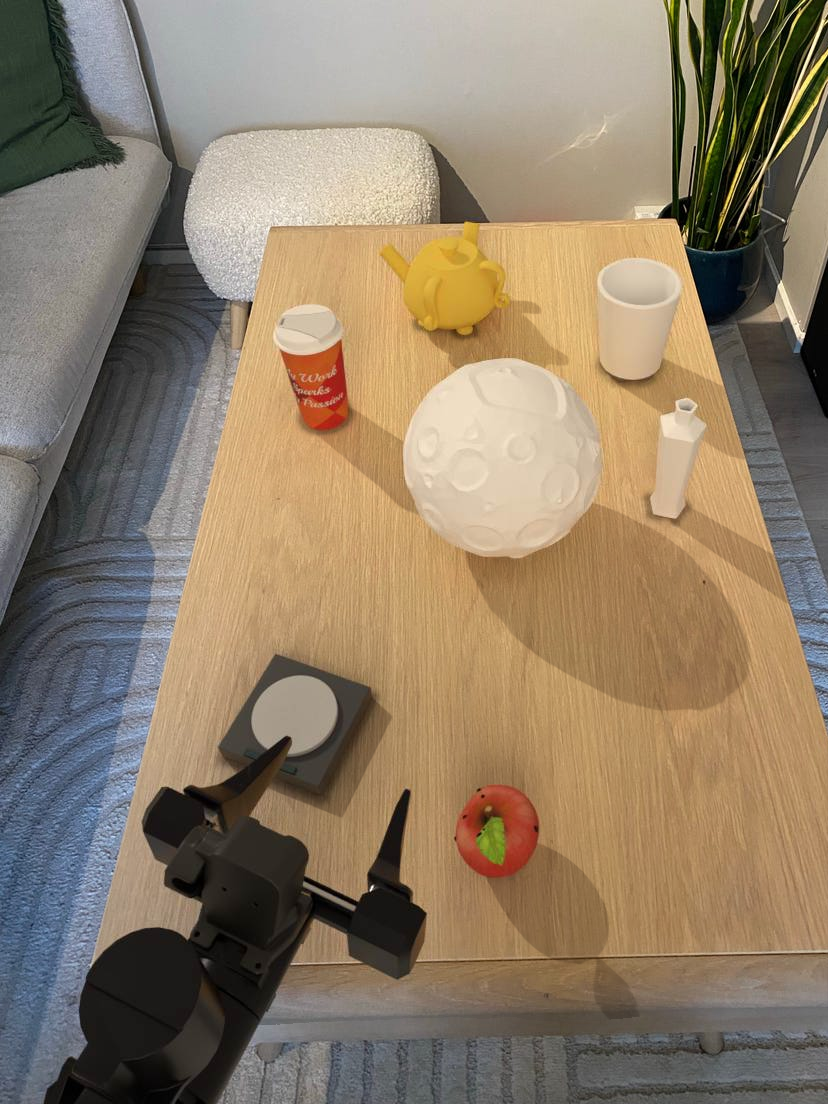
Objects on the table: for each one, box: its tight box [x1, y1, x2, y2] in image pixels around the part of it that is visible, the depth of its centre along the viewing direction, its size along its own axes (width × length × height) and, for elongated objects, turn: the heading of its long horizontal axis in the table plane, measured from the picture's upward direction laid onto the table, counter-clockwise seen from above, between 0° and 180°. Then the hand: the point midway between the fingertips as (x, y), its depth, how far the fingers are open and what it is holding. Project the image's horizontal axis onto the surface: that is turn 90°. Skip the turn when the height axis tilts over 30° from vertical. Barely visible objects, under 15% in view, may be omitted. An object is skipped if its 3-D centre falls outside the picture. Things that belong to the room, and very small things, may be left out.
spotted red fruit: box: [453, 784, 540, 879], centre depth 71 cm, size 8×7×10 cm
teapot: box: [378, 221, 511, 336], centre depth 119 cm, size 14×14×11 cm
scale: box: [217, 653, 374, 797], centre depth 82 cm, size 10×10×3 cm
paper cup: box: [272, 303, 349, 431], centre depth 106 cm, size 8×8×14 cm
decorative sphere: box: [402, 357, 603, 559], centre depth 92 cm, size 20×20×20 cm
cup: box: [596, 257, 684, 383], centre depth 110 cm, size 10×10×13 cm
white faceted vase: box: [649, 397, 708, 519], centre depth 94 cm, size 5×4×15 cm
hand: (348, 764), depth 63 cm, fingers open, 9 cm apart
